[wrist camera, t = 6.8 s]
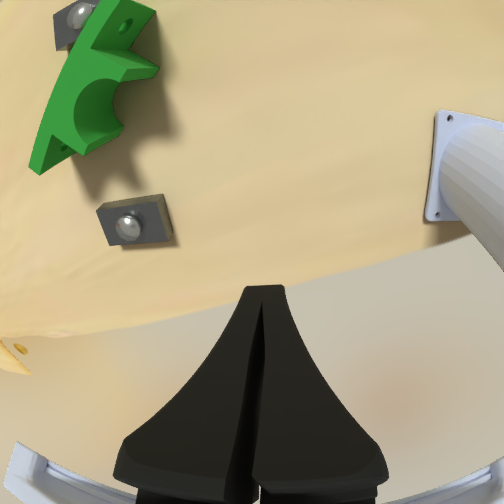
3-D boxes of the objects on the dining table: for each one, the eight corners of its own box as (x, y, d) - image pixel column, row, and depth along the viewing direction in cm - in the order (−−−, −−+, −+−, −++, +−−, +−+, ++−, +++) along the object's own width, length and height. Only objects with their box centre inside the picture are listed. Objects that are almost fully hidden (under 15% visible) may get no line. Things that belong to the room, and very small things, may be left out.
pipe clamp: (104, 169, 18) (67, 198, 14) (68, 144, 17) (27, 167, 13) (190, 28, 12) (162, 15, 8) (143, 4, 11) (105, -10, 7)
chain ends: (125, -15, 10) (111, -21, 8) (173, 231, 20) (165, 246, 19) (63, 15, 10) (47, 14, 9) (116, 237, 21) (106, 250, 19)
